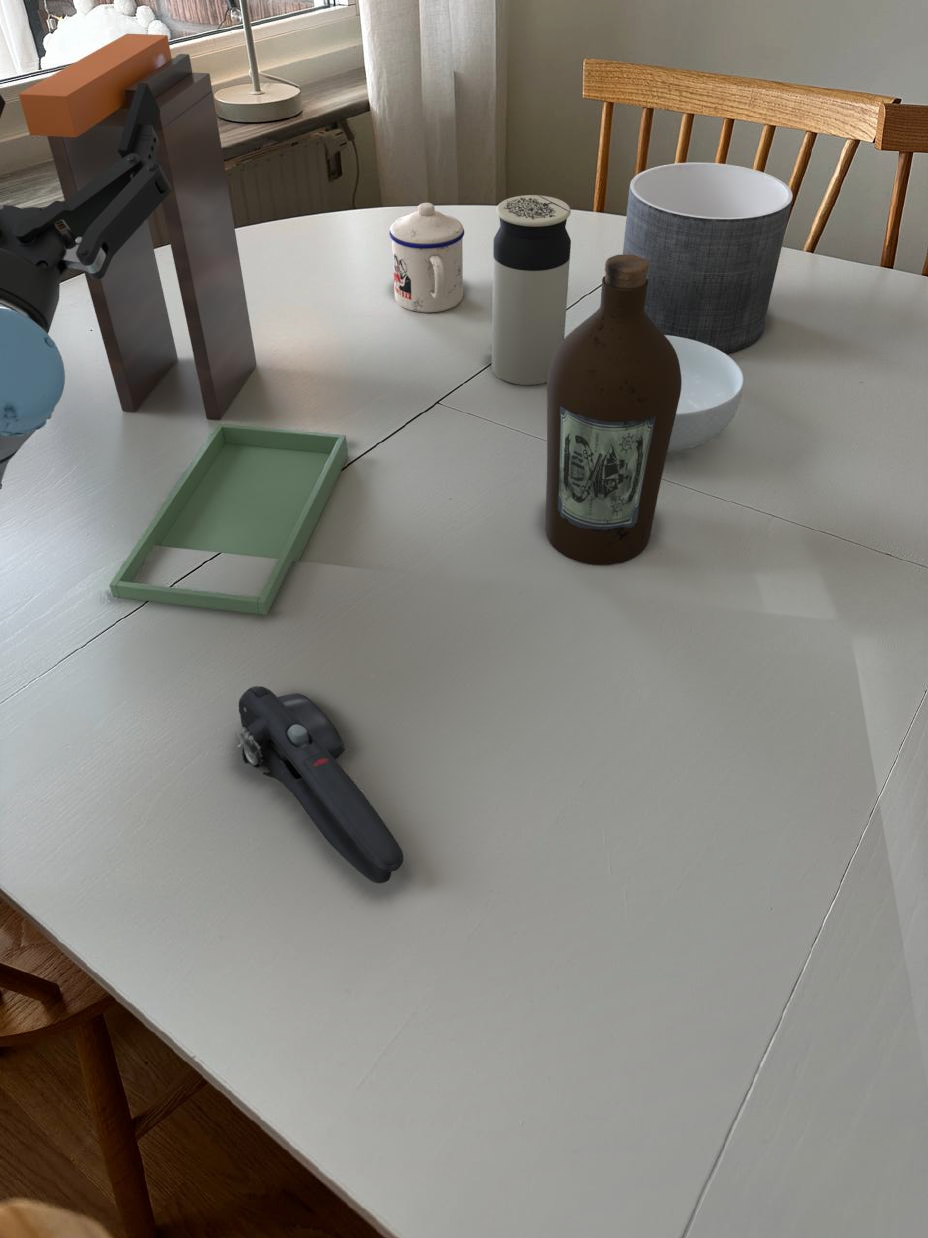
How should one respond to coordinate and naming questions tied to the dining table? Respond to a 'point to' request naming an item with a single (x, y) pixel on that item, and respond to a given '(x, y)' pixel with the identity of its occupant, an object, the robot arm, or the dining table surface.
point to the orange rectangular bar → (92, 86)
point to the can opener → (316, 776)
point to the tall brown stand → (196, 239)
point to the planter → (708, 248)
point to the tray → (241, 508)
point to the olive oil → (609, 423)
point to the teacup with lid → (427, 260)
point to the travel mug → (529, 287)
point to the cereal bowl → (703, 393)
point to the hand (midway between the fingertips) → (70, 92)
